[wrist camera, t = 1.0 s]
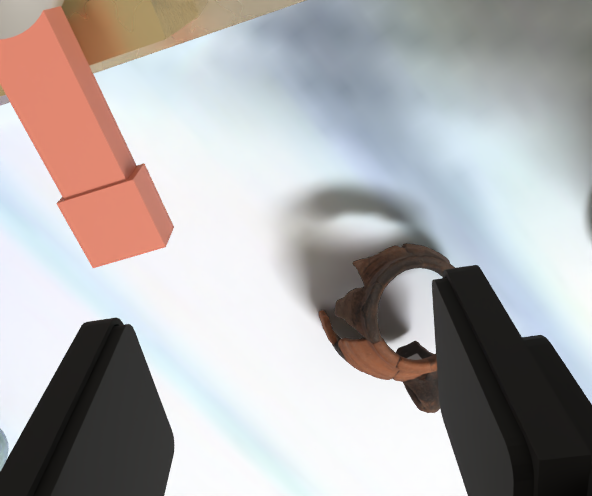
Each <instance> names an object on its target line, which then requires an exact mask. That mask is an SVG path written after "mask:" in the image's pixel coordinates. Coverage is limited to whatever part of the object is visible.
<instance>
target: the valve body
mask: <svg viewBox="0 0 592 496" xmlns="http://www.w3.org/2000/svg"><path fill="white" fill-rule="evenodd" d="M303 1H306V0H64V2H63V5H62V9H63V11H64V14H65V16H66V18H67V20H68V22H69V24H70V26H71V28H72V31H73V33H74V35H75V37H76V39H77V41H78V43H79V45H80V47H81V50H82V52H83V54H84V56H85V58H86V60H87V62H88V64H89V66H90V69H91V71H92V73H96V72H99V71H102V70H105V69H108V68H111V67H114V66H117V65H120V64H122V63H125V62H128V61H131V60H134V59H137V58H140V57H143V56H146V55H149V54H152V53H154V52H157V51H160V50H163V49H166V48H169V47H172V46H175V45H178V44H181V43H184V42H186V41H189V40H192V39H195V38H198V37H201V36H204V35H207V34H210V33H213V32H216V31H218V30H221V29H224V28H227V27H230V26H233V25H236V24H239V23H242V22H245V21H248V20H250V19H253V18H256V17H259V16H262V15H265V14H268V13H271V12H274V11H277V10H280V9H282V8H285V7H288V6H291V5H294V4H297V3H300V2H303ZM9 102H10V101H9V99H8V97H7V95H6V94H5V92H4V90H3V88H2V86H1V85H0V105H3V104H6V103H9Z"/></svg>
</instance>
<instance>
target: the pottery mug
mask: <svg viewBox="0 0 592 496" xmlns="http://www.w3.org/2000/svg"><path fill="white" fill-rule="evenodd" d="M353 265H354V266H355V267H356V269H357V270H358V273H359V275H360V276H361V278H362V281H363V283H364V287H363V288H355V289H353V290H351V291H350V292H348V293H347V294H346V295H345V297H343V298H341V299H339V300H337V302H336V305H335V311H334V312H335V315H336V316H337V317H340V318H342V319H344V320H345V321H346V322H347V323H348V324H349V325H350V326H351V327H353V328H355V329H356V330H357V331H358V332H359V333H360V334H361V335H362V336H363V337H364V338H361V339H349V338H342V339H341V338H340V337H339V336H338V335H337V334H336V333H335V332H334V330H333V329H332V326H331V323H330V319H329V317H328V316H327V315H326V313H325V311H323V310H321V311H319V316H320V320H321V323H322V326H323V329H324V331H325V333H326V335H327V337H328V339H329V341H330V342H331V343H332V345H333V346H334V348H335V350H336V351H337V352H338V354H339V355H340V356H341V357H342V358H344V359H345V360H346V361H347V362H348V363H349V364H350V365H352V366H353V367H354V368H356V369H358V370H359V371H361V372H365V373H367V374H369V375H371V376H373V377H376V378H380V379H385V380H390V379H394V380H396V381H402V382H403V383H404V385H405V388H406V390H407V392H408V393H409V395H410V397H411V399H412V400H413V402H414V403H415V405H416V406H417V408H418V409H419V410H421V411H424V412H427V413H435V412H437V411H438V410H439V409H440V402H439V391H438V375H437V359H436V354H433V353H431V352H429V351H428V350H426V349H425V348H424V347H422V346H421V345H420V344H419V342H417V341H414V342H412V343H410V344H408V345H406V346H402V347H400V348H398V349H397V351H396V353H395V352H394V351H393V350H392V349H391V348H390V347H389V346H388V345H387V344H386V342H385V341H384V339H383V338H382V337H381V334H380V330H379V327H378V320H377V313H378V305H379V301H380V298H381V295H382V293H383V290H384V288H385V287H386V286H387V285H388V283H389V282H390V281H392V280H393V279H394V278H395V277H396V276H397V275H399V274H400V273H402V272H404V271H406V270H409V269H413V268H425V269H430V270H433V271H435V272H437V273H438V274H439V275H441V276H442V277H443V271H444V270H446V269H452V268H455V267H454V266H452V265H451V264H450V262H449V260H448V259H447V258H446V257H445V256H443V255H442V254H440V253H439V252H436V251H435V250H433V249H430V248H428V247H425V246H421V245H415V244H408V243H406V244H403V245H402V247H399V246H392V247H390V248H387V249H385V250H384V251H382V252H380V253H379V254H377V255H374V256H371V257H368V258H365V259H360V260H357V261H354V262H353Z"/></svg>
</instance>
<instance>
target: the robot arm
mask: <svg viewBox="0 0 592 496" xmlns="http://www.w3.org/2000/svg"><path fill="white" fill-rule="evenodd" d="M432 294H433V310H434V326H435V342H436V359H437V375H438V391H439V402H440V408H441V413H442V417H443V421H444V424H445V427H446V430H447V433H448V436H449V439H450V442H451V445H452V448H453V451H454V454H455V457H456V460H457V463H458V466H459V470H460V473H461V476H462V479H463V482H464V485H465V488H466V491H467V494H468V496H592V404H591V403H590V401H589V400H588V398H587V397H586V395H585V394H584V392H583V391H582V389H581V388H580V386H579V385H578V383H577V382H576V380H575V379H574V377H573V376H572V374H571V373H570V371H569V370H568V368H567V367H566V365H565V364H564V362H563V361H562V359H561V358H560V356H559V355H558V353H557V352H556V350H555V349H554V347H553V346H552V344H551V343H550V342H549V341H548V339H547V338H546V337H544V336H542V335H537V336H530V337H521V335H520V334H519V332H518V330H517V329H516V327H515V325H514V324H513V322H512V320H511V319H510V317H509V315H508V314H507V312H506V310H505V309H504V307H503V305H502V304H501V302H500V300H499V299H498V297H497V295H496V294H495V292H494V290H493V289H492V287H491V285H490V284H489V282H488V280H487V279H486V277H485V275H484V274H483V272H482V270H481V269H480V267H479V266H478V265H473V266H466V267H459V268H452V269H446V270H444V271H443V279H436V280H433V281H432ZM173 454H174V437H173V433H172V430H171V427H170V424H169V422H168V419H167V416H166V414H165V411H164V408H163V406H162V403H161V400H160V398H159V395H158V392H157V389H156V387H155V384H154V381H153V379H152V376H151V373H150V371H149V368H148V365H147V363H146V360H145V357H144V355H143V352H142V349H141V347H140V344H139V341H138V339H137V336H136V333H135V331H134V329H133V327H132V326H131V325H130V324H126V325H123V323H122V321H121V320H120V319H118V318H111V319H104V320H97V321H90V322H86V323H84V324H83V325H82V326H81V328H80V329H79V331H78V333H77V335H76V337H75V338H74V340H73V342H72V344H71V346H70V347H69V349H68V351H67V353H66V355H65V356H64V358H63V360H62V362H61V363H60V365H59V367H58V369H57V371H56V372H55V374H54V376H53V378H52V380H51V381H50V383H49V385H48V387H47V389H46V390H45V392H44V394H43V396H42V398H41V399H40V401H39V403H38V405H37V407H36V408H35V410H34V412H33V414H32V415H31V417H30V419H29V421H28V423H27V424H26V426H25V428H24V430H23V432H22V433H21V435H20V437H19V439H18V441H17V442H16V444H15V446H14V448H13V450H12V451H11V453H10V455H9V457H8V459H7V460H6V462H5V464H4V466H3V467H2V469H1V471H0V496H164V493H165V489H166V485H167V481H168V476H169V472H170V468H171V463H172V459H173Z"/></svg>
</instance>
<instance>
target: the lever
mask: <svg viewBox="0 0 592 496" xmlns="http://www.w3.org/2000/svg"><path fill="white" fill-rule="evenodd" d="M63 2H64V0H0V85H1V86H2V88H3V90H4V92H5V94H6V95H7V97H8V99H9V101H10V103H11V105H12V106H13V108H14V110H15V112H16V114H17V115H18V117H19V119H20V121H21V123H22V124H23V126H24V128H25V130H26V132H27V133H28V135H29V137H30V139H31V141H32V142H33V144H34V146H35V148H36V150H37V151H38V153H39V155H40V157H41V159H42V160H43V162H44V164H45V166H46V168H47V169H48V171H49V173H50V175H51V177H52V179H53V180H54V182H55V184H56V186H57V188H58V189H59V191H60V193H61V195H62V198H61V199H60V200H59V201H58V202H57V205H58V207H59V209H60V210H61V212H62V214H63V216H64V218H65V219H66V221H67V223H68V225H69V226H70V228H71V230H72V232H73V234H74V235H75V237H76V239H77V241H78V242H79V244H80V246H81V248H82V250H83V251H84V253H85V255H86V257H87V258H88V260H89V262H90V264H91V266H92V267H93V268H95V267H99V266H102V265H106V264H109V263H112V262H116V261H119V260H123V259H126V258H130V257H133V256H136V255H140V254H143V253H147V252H150V251H154V250H157V249H160V248H164V247H166V245H167V242H168V240H169V238H170V235H171V233H172V231H173V228H174V226H173V224H172V222H171V220H170V218H169V216H168V213H167V211H166V209H165V207H164V205H163V203H162V201H161V198H160V196H159V194H158V192H157V190H156V188H155V186H154V183H153V181H152V179H151V177H150V175H149V173H148V170H147V168H146V166H145V164H141V165H138V166H136V164H135V162H134V159H133V157H132V155H131V153H130V151H129V149H128V147H127V145H126V143H125V140H124V138H123V136H122V134H121V132H120V130H119V128H118V126H117V124H116V121H115V119H114V117H113V115H112V113H111V111H110V109H109V107H108V104H107V102H106V100H105V98H104V96H103V94H102V92H101V90H100V88H99V85H98V83H97V81H96V79H95V77H94V75H93V73H92V71H91V69H90V66H89V64H88V62H87V60H86V58H85V56H84V54H83V52H82V50H81V47H80V45H79V43H78V41H77V39H76V37H75V35H74V33H73V31H72V28H71V26H70V24H69V22H68V20H67V18H66V16H65V14H64V11H63V9H62V5H63Z"/></svg>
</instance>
